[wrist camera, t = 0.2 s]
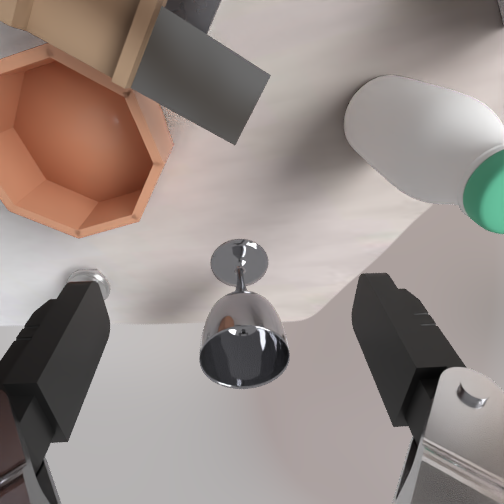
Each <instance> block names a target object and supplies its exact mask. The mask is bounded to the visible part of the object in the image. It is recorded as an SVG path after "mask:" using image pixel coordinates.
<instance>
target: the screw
mask: <svg viewBox="0 0 504 504" xmlns="http://www.w3.org/2000/svg"><path fill="white" fill-rule="evenodd" d="M78 281H96V282H97V283H98V284H99V286H100V289H101V293H102V296H103V299H104V300H105V299H106V298H107V297H108V296H109V294H110V284H109V282H108V281H107V279H106V278H105V276H104V275H103V274H102V273H100V272H99V271H98V270H97V269H96V270H79V271H76V272H74V273H73V274H71V275H70V277H69V278H68V280H67V283H68V282H78Z"/></svg>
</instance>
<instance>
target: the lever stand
mask: <svg viewBox="0 0 504 504" xmlns="http://www.w3.org/2000/svg"><path fill="white" fill-rule="evenodd" d="M220 3H221V0H167V3H166V5H165V8H166V9H168V10H170V11H171V12H173V13H174V14H176V15H177V16H179V17H180V18H182V19H184V20H185V21H187V22H188V23H190V24H191V25H193V26H194V27H196V28H198V29H199V30H201V31H202V32H204V33H205V34H207V33H208V31H209V29H210V26H211V24H212V21H213V19H214V17H215V14H216V12H217V10H218V7H219V5H220Z"/></svg>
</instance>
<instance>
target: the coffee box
mask: <svg viewBox="0 0 504 504" xmlns="http://www.w3.org/2000/svg"><path fill="white" fill-rule="evenodd" d="M497 1H498V4H499V8H500V12H501V16H502V20H503V24H504V0H497Z"/></svg>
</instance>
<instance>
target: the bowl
mask: <svg viewBox="0 0 504 504" xmlns="http://www.w3.org/2000/svg"><path fill="white" fill-rule="evenodd" d="M173 145H174V143H173V141H172V138H171V136H170V133H169V131H168V128H167V123H166V119H165V116H164V113H163V111H162V109H161V106H160V104H159V103H157V102H155V101H153V100H151V99H150V98H148V97H146V96H144V95H142V94H141V93H139V92H137V91H135V90H133V89H131V88H127V89H124V88H123V87H121V86H119V85H117V84H115V83H113V82H112V78H111V77H110V76H108V75H106V74H104V73H102V72H100V71H99V70H97V69H95V68H93V67H91V66H89V65H88V64H86V63H84V62H82V61H80V60H79V59H77V58H75V57H73V56H71V55H69V54H68V53H66V52H64V51H62V50H60V49H58V48H57V47H55V46H53V45H51V44H49V43H46V44H43V45H40V46H37V47H34V48H31V49H28V50H25V51H23V52H20V53H17V54H14V55H11V56H8V57H5V58H2V59H0V200H1V201H2V202H3V204H4V205H5V206H6V208H7V209H8V211H10V212H13V213H15V214H18V215H20V216H23V217H25V218H28V219H30V220H33V221H36V222H38V223H41V224H43V225H46V226H48V227H51V228H53V229H56V230H58V231H61V232H64V233H66V234H69V235H71V236H74V237H76V238H82V237H86V236H89V235H93V234H97V233H100V232H104V231H107V230H111V229H114V228H118V227H121V226H125V225H128V224H132V223H136V222H139V221H140V219H141V216H142V214H143V212H144V210H145V208H146V206H147V203H148V201H149V199H150V197H151V195H152V193H153V190H154V188H155V186H156V184H157V181H158V179H159V177H160V175H161V172H162V170H163V168H164V166H165V163H166V161H167V159H168V157H169V154H170V152H171V150H172V148H173Z"/></svg>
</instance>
